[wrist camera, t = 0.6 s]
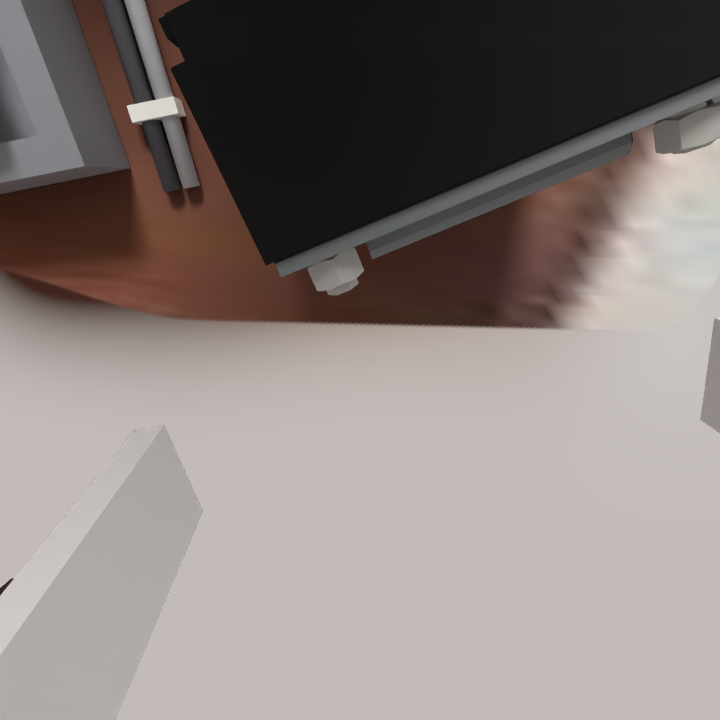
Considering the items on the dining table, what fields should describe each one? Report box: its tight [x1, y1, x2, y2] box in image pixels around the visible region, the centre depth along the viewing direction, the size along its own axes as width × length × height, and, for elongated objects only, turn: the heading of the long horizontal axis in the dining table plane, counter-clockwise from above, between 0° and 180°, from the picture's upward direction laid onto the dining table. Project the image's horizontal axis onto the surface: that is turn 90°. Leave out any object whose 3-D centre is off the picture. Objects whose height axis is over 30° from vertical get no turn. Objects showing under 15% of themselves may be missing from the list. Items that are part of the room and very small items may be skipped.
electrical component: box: [158, 0, 720, 295], centre depth 22 cm, size 18×10×20 cm, turn 112°
